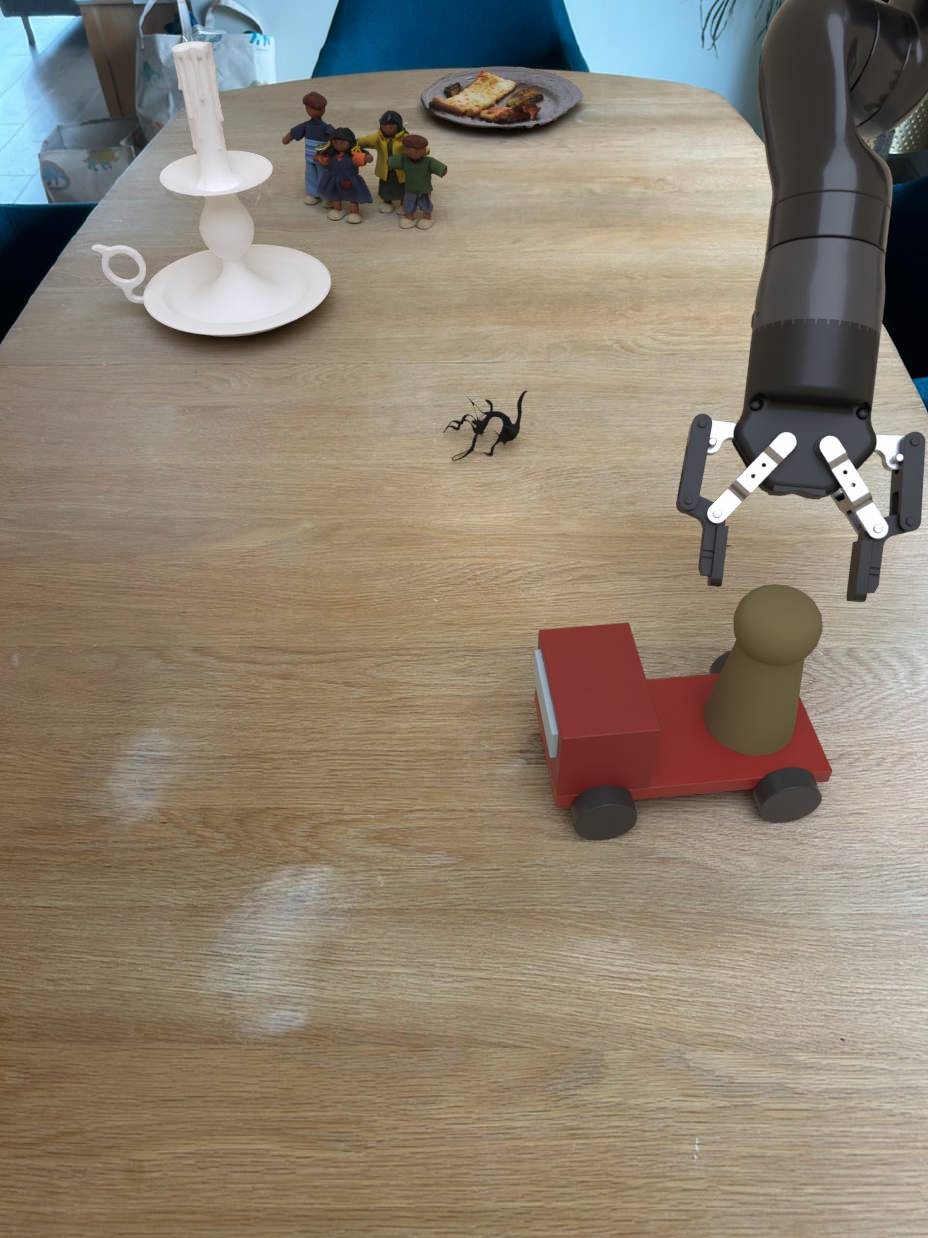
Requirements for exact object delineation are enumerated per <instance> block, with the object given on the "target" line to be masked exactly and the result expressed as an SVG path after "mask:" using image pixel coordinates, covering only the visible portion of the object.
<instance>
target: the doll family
mask: <svg viewBox="0 0 928 1238" xmlns="http://www.w3.org/2000/svg"><path fill="white" fill-rule="evenodd" d="M302 105H304V106H305V107H304V108H305V111H306V113H307V115H308V116H309V117H310V119H309V120H306V121H304V122H301V123H299V124H296V125H295V126H293V127H291V128H290V130H289V132H287V133H286V135H285V136H283V137H282V139H281V142H282V144H283V145H284V146H287V145H289V144H290V143H291V142H293V141H294V140H295V142H300V141H302V140H303V139H304V145H305V146H304V160H305V169H304V183H305V194H306V196H305V197H304V198H303V202H304V203H305V204H306V205H315V204H317V203H319V202H320V201H322V202H321V206H322V207H323V208H333V209H331V210H330V211H329V212H328V214H327V218H328V219H329V220H331V221H332V220H333V221H337V220H341V219H342V218H343V217H344V216H345V215H346V214H347V212H346V211H345V209H344V208H343V207H342V201H343V202H347V203H350V213H349V214H348V215H347V217H346V221H347V223H350V224H351V223H354V224H357V223H360V222H362V221H363V218H362V215H361V214H360V213H359V211H360V210H359V205H364V204H372V203H374V199H373V196H372V194H371V191H370V189H369V186H368V185H367V183H366V180H365V179H364V177H363V176H362V175H361V174H360V168H361V167H366V166H367V165H368V164H371V163H373V162H374V156H373V155H372V154H371V153H370V151H369V149H370V150H376V162H375V167H374V176H375V177H377V178H378V179H379V180H378V188H377V189H378V190H377V195H378V196H379V197H380V199H382V200H383V203H381V204H380V206H379V208H378V211H380V212H381V213H385V214H386V213H387V214H388V213H392V212H394V211H395V212H396V214H397V215H402V216H405V217H403V218H401V219H400V220H399V221H398V225H397V226H398V227H399V228H401V229H411V228H413V227H416V228H418V229H421V230H429V229H430V228H432V227H433V226H434V224H435V220H434V219H433V218H432V212H433V211H434V204H433V202H432V199H431V198H432V192H433V191H434V187H433V184H432V179H433V178H432V177H433V176H432V175H436V176H437V177H439V178H441V179H443V178H444V177H445V176H446V175H447V174H448V165H446V164H445V163H443V162H442V161H439V160H438V159H436V158H435V157H433V156H430V153H431V147H429V140H428V139H427V137H424V136H423V135H420V134H414V133H413V134H410V132H409V131H408V130H407V129H406V126H408V125H409V121H405V122H403V116H402V115H401V114H400V113H399V112H398V111H396V110H390V109H388V110H386V111H385V112H383V114H382V115H381V116H380V117H379V119H378V122H379V127H377V131H375V132H373V133H371V134H368V135H365V136H359V137H357V138H356V134H355V132H354V131H353V130H351V129H350V127H341V126H339V127H336V128H335V126H333V125H332V124H331V123H327V122H325V121H323V118H322V117H323V116H324V115H325V112H326V107H327V105H328V99H326V97H325V96H323V95H322V94H320V93H318V92H317V91H313V90H312V91H310V92H309V93H307V94H305V95H303V97H302ZM367 149H368V150H367ZM393 201H400V202H399V203H400V204H399V205H398V206H397V208H396V209H395V207H396V205H395V203H394V202H393ZM418 209H419V211H421V212H422V218H420V219H418V218H416V217H415V213H417V211H418Z"/></svg>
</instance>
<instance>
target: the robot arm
mask: <svg viewBox="0 0 928 1238" xmlns="http://www.w3.org/2000/svg"><path fill="white" fill-rule="evenodd" d="M762 41H763V42H762V45H761V49H760V53H759V60H758V64H757V82H756V85H757V98H758V99H757V101H758V107H759V116H760V122H761V128H762V129H761V130H762V137H763V142H764V150H765V157H766V165H767V170H768V175H769V180H770V186H771V204H770V210H769V217H768V225H767V234H766V243H765V252H764V259H763V265H762V270H761V273H760V277H759V281H758V285H757V286H758V287H757V289H756V296H755V303H754V311H753V312H752V316H751V321H750V327H751V336H750V345H749V353H748V364H747V369H746V370H747V372H746V381H745V389H744V396H743V397H744V398H743V405H742V411H741V415H740V417H739V419H738V421H737V422H730V421H722V420H715V419H712V417H711V416H710V415H709V414H707V413H699V414H696V415H695V416H694V418H693V419H692V421H691V423H690V425H689V428H688V433H687V438H686V445H685V449H684V455H683V462H682V466H681V467H682V468H681V473H680V478H679V483H678V490H677V494H676V500H675V507H676V509H677V511H678V512H679V513H681V514H685V515H687V516H689V517H691V518H694V519H696V520H697V521H698V522H699V523H700V525H701V528H702V529H701V539H700V541H701V542H700V547H699V548H700V549H699V557H698V566H697V569H698V572H699V575H700V576H701V577H707V579H706V580H707V581H706V582H707V583H706V586H707V587H712V588H714V587H715V588H721V587H722V585H723V579H724V572H725V562H726V554H727V547H728V546H727V544H728V536H729V527H730V526H729V525H726V521H727V519H728V517H729V516H730V515H731V514H732V513H733V512H734V511H735V510H736V509H737V508H738V507H739V506H740V505H742V503H743V502H744V501H745V500H746V499H747V498H748V497H749V496H750V495H751V494H752V493H753V492H754V491H755V490H756V488H759V489H760V491H763V492H764V493H767V496H774V497H783V496H790V495H794V496H797V497H800V498H804V499H807V500H821V499H824V498H827V497H829V496H830V497H831V499H832V500H833V502H834V504H835V506H836V507H837V509H838V510H839V511H840V512H841V513H842V514H844V516H845V517H846V519H847V521H848V522H849V524H850V525H851V527H852V529H853V530H854V532H855V533H856V535H857V540H856V541H852V545H851V553H850V561H849V562H850V563H849V570H848V578H847V587H846V596H845V598H846V601H847V602H851V603H853V602H854V603H866V601H867V597H868V595H869V594H875V593H876V591H877V589H878V588H879V585H880V579H881V571H882V570H881V568H882V562H883V552H884V546H885V543H886V541H887V540H888V539H890V538H892V537H894V536H899V535H904V534H907V533H911V532H914V531H917V530H918V529H919V528H920V526H921V523H922V513H923V511H922V510H923V495H924V494H923V493H924V479H925V478H924V477H925V476H924V475H925V457H926V456H925V455H926V438H925V435H924V434H923V433H922V432H920V431H910V432H908V433H905V434H904V435H899V434H898V435H897V434H876V432H875V430H874V427H873V424H872V410H873V402H874V394H875V387H876V386H875V385H876V376H877V369H878V362H879V361H878V360H879V353H880V352H879V351H880V343H881V335H882V328H883V327H882V325H883V319H884V311H885V310H884V309H885V300H886V275H885V273H886V272H885V271H886V270H885V268H886V267H885V265H886V254H887V253H886V252H887V245H888V235H889V228H890V227H889V226H890V219H891V211H892V202H893V175H892V172H891V170H890V167H889V165H888V164H887V162H886V161H885V160H884V159H883V158H882V157H881V156H880V155H879V154H878V153H877V152H876V151H875V150H874V149H872V148H871V147H870V145H868V144H867V143H866V142H865V140H873V139H874V140H875V139H877V138H880V137H882V136H885V135H887V134H889V133H891V132H893V131H894V130H895V129H897V128H899V127H900V126H901V125H902V124H903V123H905V122H906V121H907V120H908V119H909V118H910V117H911V116H912V115H913V114H915V112H916V111H917V110H918V109H919V108H920V107H921V105H922V104H923V103H924V102H925V100H926V99H927V98H928V0H888V2H885V1H883V0H784V1H783V3H782V4H781V5H780V7H779V8H778V10H777V11H776V12H775V14H774V16H773V17H772V20H771V21H770V23H769V26H768V28H767V30H766V33H765V36H764V38H763V40H762ZM727 441H731V443H732V445H733V447H734V449H735V451H736V452H737V455H738V456H739V458H740V460H741V461H742V463H743V464H744V466H745V469H744V470H743V472H741V473H740V474H739V476H738V477H736V479H735V480H733V482H732V483H731V484H730V485H729V486H728V487H727V488H726V489H725V491H723V492H722V494H720V496H718V498H716V500H715V501H713V500H710V499H708V498H707V497H703V496H701V490H702V485H703V479H704V473H705V468H706V462H707V458H708V457H707V456H714V455H716V454H717V453H718V452H719V450H720V449H721V446H722V445H723V443H724V442H727ZM873 454H877V455H878V457H880V460H881V465H882V467H883V469H884V470H885V471H887V472H890V488H889V489H890V491H889V506H888V507H889V509H888V515H887V516H883V515H882V513H881V511H880V509H879V508H878V507H877V505H876V504H875V501H874V500H873V496H872V493H871V491H870V489H869V488H868V487H867V485H866V483H865V482H864V480H863V479H862V477H861V475H860V473H859V472H858V470H859V469H860V468H861V467H862V466H863V464H865V462H867V460H868V459H869V458H871V456H872V455H873Z"/></svg>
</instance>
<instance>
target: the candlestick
mask: <svg viewBox="0 0 928 1238" xmlns="http://www.w3.org/2000/svg"><path fill="white" fill-rule="evenodd" d="M182 38H183V39H184V41H185V42H181V43H178V44H177V43H176V44H175V45H173V46H172V47H171V52H172V57H173V61H174V62H173V63H174V67H175V72H176V78H177V83H178V84H177V88H178V90H179V91H182V95H183V101H184V106H185V111H186V116H187V120H188V125H189V129H190V130H189V131H190V135H191V140H192V148H193V150H195V151H196V153H195V154H191V155H187V156H184V157H182V158H178V159H177V160H174V161H172V162H171V163H169V164H167V166H165V167H164V168H163V169H162V170H161V172H160V174H159V182H160V184H161V185H162V186H163V187H164V188H166V189H167V190H169V191H171V192H174V193H177V194H182V195H188V196H193V197H194V196H195V197H203V199H204V206H203V209H202V212H201V214H200V217H199V224H198V226H199V230H198V231H199V233H200V234H199V235H200V237H201V239H202V241H203V243H204V244H205V246H206V247H207V248H208V249H205V250H202V251H198V252H194V253H192V254H189V255H186V256H184V257H182V258H178V259H177V260H175V261H173V262H171V263H169V264H168V265H166V266H165V267H163V268H162V269H160V270H159V271H157V273H156V274H155V275H153V276H152V278H151V279H150V280H149V281H148V282H147V283H146V286H145V288H144V289H143V295H136V294H135V292H134V288H136V287H138V286H139V285H141V283H142V282H144V280H145V277H146V273H147V265H146V262H145V259H144V258H143V256H142V255H141V253H140V252H139V251H137V250H136V249H135V248H133V247H130V246H128V245H124V244H123V245H120V244H117V245H112V246H108V245H104V244H100V243H98V244H97V243H96V244H93V245H92V246H91V251H94V252H97V253H99V254H100V255H101V257H102V258H101V269H102V272H103V274H104V276H105V277H106V278H107V280H109V282H111V283H112V284H113V285H115V286H117V287H118V288H120V289H121V290H122V292H123V294H124V296H125V297H126V299H127V300H128V301H129V302H131V303H133V304H142V305H144V308H145V310H146V311H147V313H148V314H149V315H150V316H151V317H152V318H154V319H155V320H156V321H157V322H159V323H161V324H163V325H165V326H167V327H169V328H172V329H175V330H176V331H182V332H185V333H191V334H195V335H196V334H197V335H205V336H210V337H211V336H213V337H243V336H253V335H256V334H261V333H265V332H269V331H272V330H275V329H277V328H280V327H283V326H285V325H287V324H289V323H292V322H293V321H296V320H298V319H299V318H302V317H303V316H304V317H305V316H306V315H307V314H309V313H310V312H312V311H313V310H314V309H316V308H317V307H318V306H319V305H320V304H321V303H323V301H324V300H325V299H326V298H327V296H328V294H329V292H330V290H331V286H332V277H331V273H330V271H329V269H328V268H327V266H326V265H325V264H324V263H322V261H321V260H319V259H318V258H317V257H314V256H312V255H310V254H308V253H306V252H304V251H301V250H299V249H295V248H291V247H287V246H281V245H273V244H265V243H264V244H261V243H253V240H254V237H255V223H254V221H253V217H252V215H251V214H250V212H249V210H247V208H246V207H245V205H244V204H243V203H242V202H241V200H240V199H239V195H238V193H240V192H243V191H246V190H249V189H252V188H254V187H257V186H259V185H261V184H262V183H264V182H266V181H267V180H268V179H269V178H270V177H271V175H272V173H273V169H274V167H273V164H272V163H271V161H270V160H269V159H268V158H266V157H264V156H262V155H260V154H257V153H254V152H249V151H243V150H242V151H241V150H229V149H227V145H226V140H225V135H224V128H223V123H222V122H225V119H224V115H223V110H222V105H221V101H220V93H219V90H220V89H219V82H218V76H217V64H216V61H215V57H214V51H213V48H214V47H213V43H212V42H210V41H198V40H196V41H195V40H193V41H188V39H187V38H186V37H185V35H182ZM121 254H122V255H126V256H128V257H130V258H132V259H133V260H134V261H135V263H136V264H137V266H138V270H139V272H138V274H137V275H136V276H135V277H133V278H130V279H126V278H122V277H119V276H118V275H116V274H115V273H114V272H113V271H112V270H111V268H110V259H111V258H113V257H114V256H116V255H121Z"/></svg>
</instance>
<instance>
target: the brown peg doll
mask: <svg viewBox="0 0 928 1238" xmlns="http://www.w3.org/2000/svg"><path fill="white" fill-rule="evenodd" d="M732 620H733V621H732V623H733V624H732V625H733V635H734V638H735V641H734V643H733V646H732V648H731V649H730V651H731V652H730V654H729V656H728V658H727V660H726V662H725V664H724V666H723V668H722V671H721V673H720V675H719V677H718V679H717V681H716V683H715V685H714V687H713V689H712V691H711V694H710V696H709V698H708V700H707V702H706V704H705V706H704V709H703V720H704V722H705V725H706V727H707V730H708V731H709V733H710V734H711V735H712V736H713V737H714V738H715V740H716V741H718V742H719V743H720V744H722V745H723V746H725V747H726V748H728V749H730V750H733V751H735V752H738V753H741V754H745V755H753V756H761V755H768V754H773V753H775V752H777V751H779V750H781V749H783V748H784V747H785V746H786V745H787V744H788V743H789V742H790V741H791V738H792V736H793V733H794V729H795V722H796V715H797V708H798V701H799V696H800V693H801V686H802V680H803V679H802V678H803V670H804V664H805V659H806V658H807V657H809V655H811V654H812V653H813V652H814V650H815V649H816V648H817V647H818V645H819V641H820V640H821V636H822V634H823V630H824V628H823V625H824V624H823V616H822V613H821V611H820V609H819V607H818V605H817V604H816V602H815V600H814V599H813V598H811V596H810V595H808V594H807V593H805V592H804V591H802V590H800V589H798V588H796V587H793V586H789V585H788V584H776V583H771V584H764V585H763V584H762V585H761V586H759V587H755V588H754V589H752V590H750V591H749V592H747V593H746V594H745V595H743V597H742V598H741V599H740V601H739V602H738V604H737V607H736V609H735V611H734V614H733V619H732Z"/></svg>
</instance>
